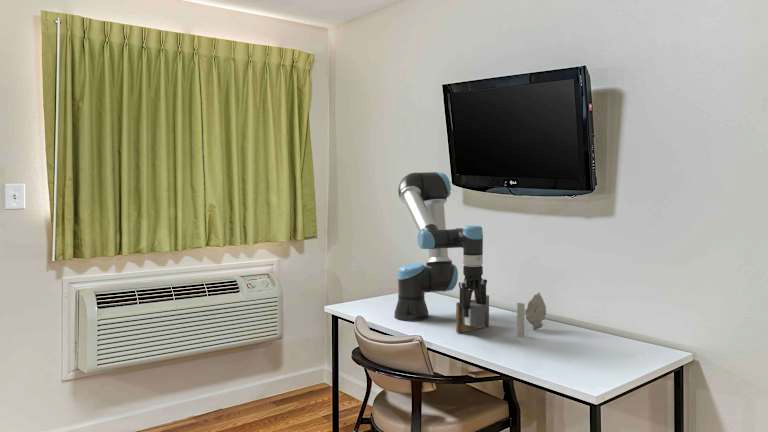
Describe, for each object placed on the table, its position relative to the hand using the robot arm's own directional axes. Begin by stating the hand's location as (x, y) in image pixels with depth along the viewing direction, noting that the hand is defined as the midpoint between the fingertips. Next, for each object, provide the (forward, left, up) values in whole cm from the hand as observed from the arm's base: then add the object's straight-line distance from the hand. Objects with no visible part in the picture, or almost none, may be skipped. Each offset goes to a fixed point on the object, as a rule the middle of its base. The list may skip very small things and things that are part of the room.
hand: (473, 323), depth 233 cm
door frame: (+1, +13, -4) cm, 14 cm away
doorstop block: (0, 0, 0) cm, 0 cm away
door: (-6, +4, -4) cm, 8 cm away
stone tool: (+11, +25, -5) cm, 28 cm away
